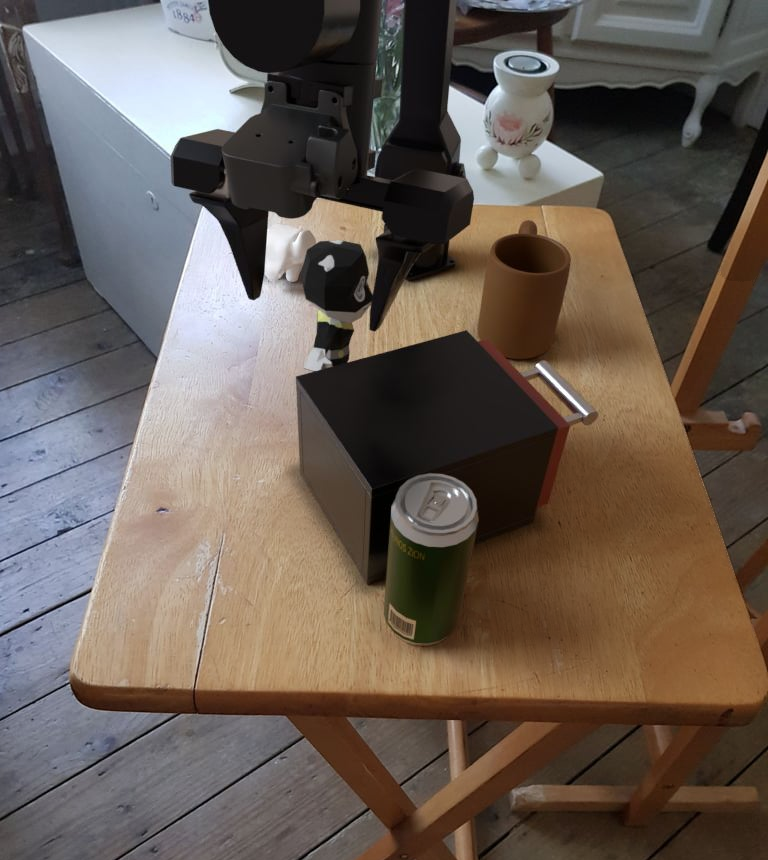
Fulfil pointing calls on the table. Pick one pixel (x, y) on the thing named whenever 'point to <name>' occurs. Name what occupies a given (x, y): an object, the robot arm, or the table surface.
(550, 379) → the drawer
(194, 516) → the table surface
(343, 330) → the toy
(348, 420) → the cabinet
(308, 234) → the elephant figurine
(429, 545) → the beer can
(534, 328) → the mug
